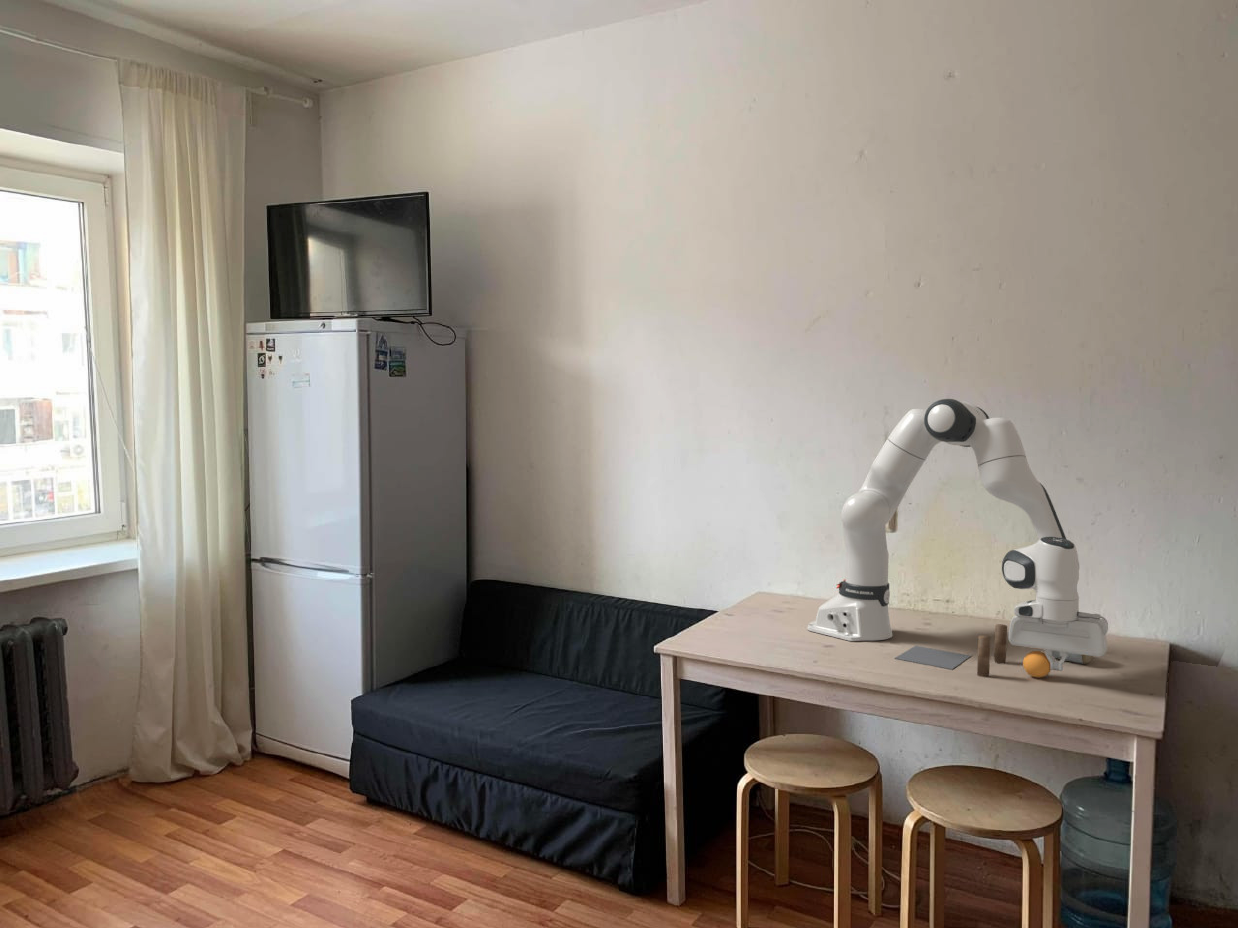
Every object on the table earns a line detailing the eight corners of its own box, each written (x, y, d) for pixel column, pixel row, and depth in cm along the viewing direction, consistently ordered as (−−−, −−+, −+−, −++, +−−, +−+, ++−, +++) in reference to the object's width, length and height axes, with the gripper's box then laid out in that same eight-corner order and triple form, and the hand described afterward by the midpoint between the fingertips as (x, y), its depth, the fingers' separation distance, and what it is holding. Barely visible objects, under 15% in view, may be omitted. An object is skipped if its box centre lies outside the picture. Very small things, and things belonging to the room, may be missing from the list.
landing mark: (894, 658, 228) (894, 657, 228) (915, 646, 238) (915, 645, 238) (952, 669, 219) (952, 668, 219) (971, 656, 230) (971, 655, 230)
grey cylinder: (1084, 667, 221) (1086, 636, 220) (1049, 660, 227) (1051, 629, 226) (1100, 659, 228) (1102, 628, 228) (1066, 652, 234) (1067, 622, 234)
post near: (975, 675, 215) (977, 637, 214) (979, 672, 217) (980, 634, 216) (987, 677, 213) (988, 639, 212) (990, 674, 215) (992, 636, 214)
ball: (1037, 685, 211) (1014, 667, 214) (1044, 678, 216) (1021, 661, 219) (1053, 666, 209) (1030, 648, 211) (1059, 660, 213) (1036, 642, 216)
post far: (992, 662, 225) (994, 625, 224) (996, 659, 227) (997, 623, 226) (1003, 664, 223) (1005, 627, 223) (1007, 661, 225) (1008, 625, 225)
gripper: (1110, 612, 206) (1110, 673, 207) (1014, 602, 219) (1014, 660, 220) (1104, 617, 201) (1104, 680, 202) (1006, 606, 214) (1006, 666, 215)
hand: (1056, 669), depth 211 cm, fingers closed
